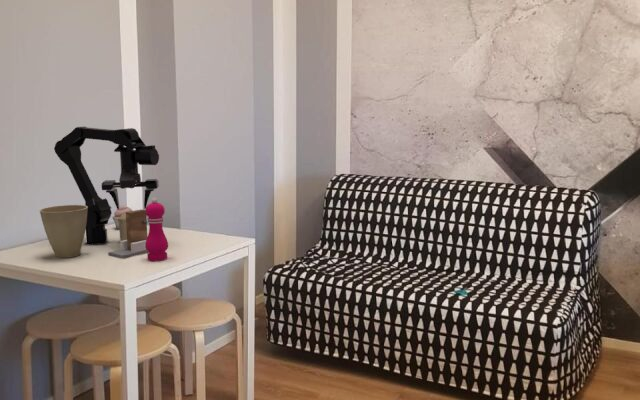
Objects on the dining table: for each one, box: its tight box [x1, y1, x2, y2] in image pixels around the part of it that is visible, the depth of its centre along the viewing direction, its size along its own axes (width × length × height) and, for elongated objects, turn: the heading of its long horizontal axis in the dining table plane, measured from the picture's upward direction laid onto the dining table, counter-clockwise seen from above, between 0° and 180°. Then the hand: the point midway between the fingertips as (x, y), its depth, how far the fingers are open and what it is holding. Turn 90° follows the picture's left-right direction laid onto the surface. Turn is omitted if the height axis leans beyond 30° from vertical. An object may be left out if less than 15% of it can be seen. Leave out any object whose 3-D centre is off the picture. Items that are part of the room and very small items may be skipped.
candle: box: [119, 214, 127, 242], centre depth 249 cm, size 6×6×10 cm
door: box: [126, 208, 148, 251], centre depth 231 cm, size 4×6×13 cm, turn 142°
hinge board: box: [107, 240, 149, 259], centre depth 232 cm, size 8×18×4 cm, turn 142°
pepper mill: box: [145, 197, 169, 262], centre depth 221 cm, size 7×7×20 cm
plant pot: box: [39, 204, 88, 258], centre depth 227 cm, size 15×15×16 cm
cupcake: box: [111, 203, 133, 231], centre depth 272 cm, size 9×9×10 cm
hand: (131, 208), depth 241 cm, fingers open, 9 cm apart
